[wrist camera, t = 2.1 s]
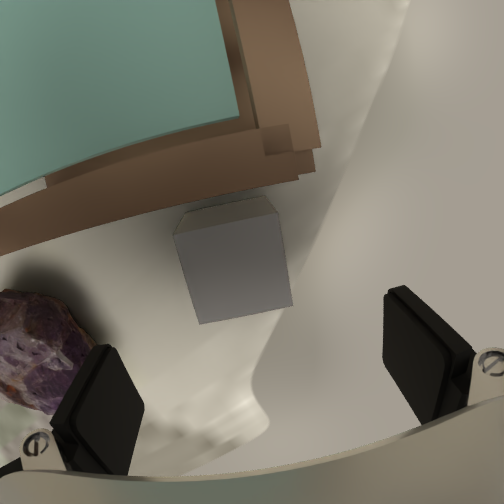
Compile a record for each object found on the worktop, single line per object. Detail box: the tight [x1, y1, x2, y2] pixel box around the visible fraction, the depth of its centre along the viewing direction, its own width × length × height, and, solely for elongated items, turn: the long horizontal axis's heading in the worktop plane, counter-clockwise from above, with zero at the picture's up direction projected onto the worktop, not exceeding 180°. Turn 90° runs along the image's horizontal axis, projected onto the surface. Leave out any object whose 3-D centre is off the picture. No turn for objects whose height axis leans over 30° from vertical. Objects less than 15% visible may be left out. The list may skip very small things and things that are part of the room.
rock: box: [0, 289, 97, 415], centre depth 17 cm, size 12×9×10 cm
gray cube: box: [173, 196, 293, 325], centre depth 18 cm, size 5×5×5 cm
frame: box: [0, 0, 321, 256], centre depth 11 cm, size 14×14×11 cm
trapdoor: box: [0, 0, 240, 196], centre depth 7 cm, size 10×11×1 cm
